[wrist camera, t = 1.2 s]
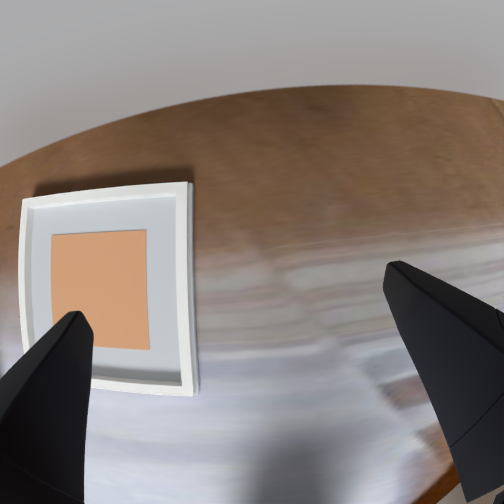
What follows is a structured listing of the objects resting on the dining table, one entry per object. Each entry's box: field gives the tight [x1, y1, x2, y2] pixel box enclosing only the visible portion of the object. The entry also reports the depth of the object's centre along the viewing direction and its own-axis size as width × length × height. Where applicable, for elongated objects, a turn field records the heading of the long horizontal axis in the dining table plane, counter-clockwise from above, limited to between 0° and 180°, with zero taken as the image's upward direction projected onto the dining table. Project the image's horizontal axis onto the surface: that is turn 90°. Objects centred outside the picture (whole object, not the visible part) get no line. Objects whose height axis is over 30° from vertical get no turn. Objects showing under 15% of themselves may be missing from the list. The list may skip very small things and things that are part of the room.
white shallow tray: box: [18, 182, 200, 396], centre depth 21 cm, size 16×16×2 cm
